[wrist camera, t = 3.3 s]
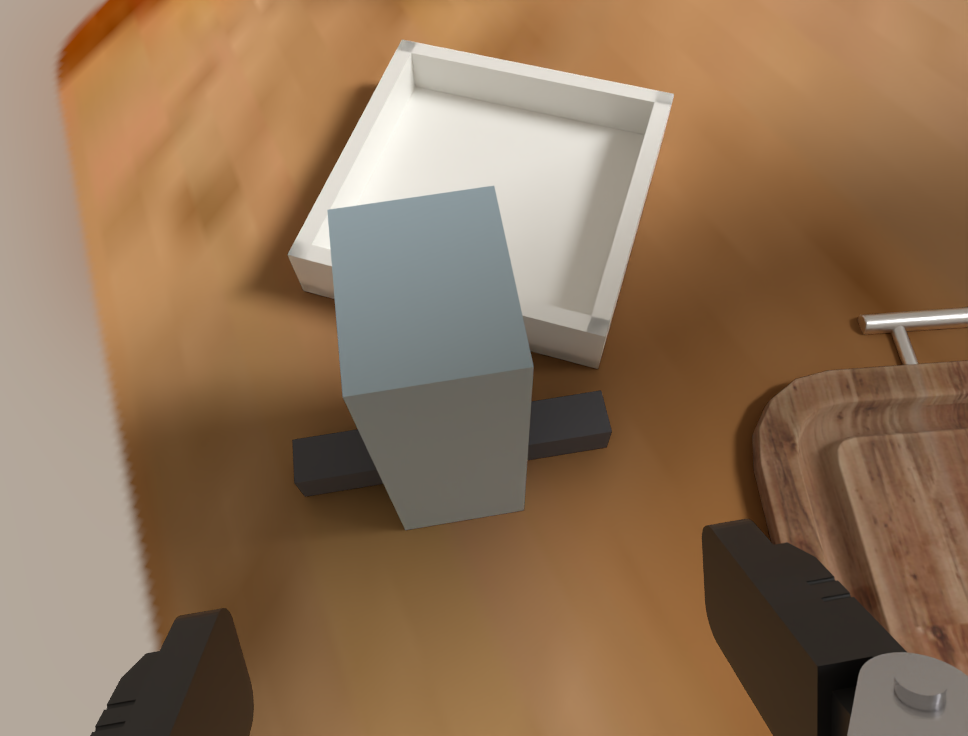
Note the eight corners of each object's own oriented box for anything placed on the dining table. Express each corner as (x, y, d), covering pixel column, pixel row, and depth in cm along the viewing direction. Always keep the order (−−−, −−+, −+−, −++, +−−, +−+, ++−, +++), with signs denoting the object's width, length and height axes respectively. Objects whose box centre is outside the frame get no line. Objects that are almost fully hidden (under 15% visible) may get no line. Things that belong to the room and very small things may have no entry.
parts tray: (408, 83, 36) (402, 39, 34) (663, 137, 34) (674, 94, 31) (303, 290, 30) (287, 254, 28) (598, 369, 28) (605, 336, 26)
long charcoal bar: (596, 407, 28) (601, 390, 26) (606, 447, 27) (611, 431, 26) (303, 454, 27) (292, 439, 26) (305, 496, 26) (294, 483, 25)
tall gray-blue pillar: (498, 379, 28) (493, 185, 19) (523, 510, 26) (533, 367, 16) (389, 396, 28) (327, 209, 18) (405, 530, 26) (342, 397, 16)
